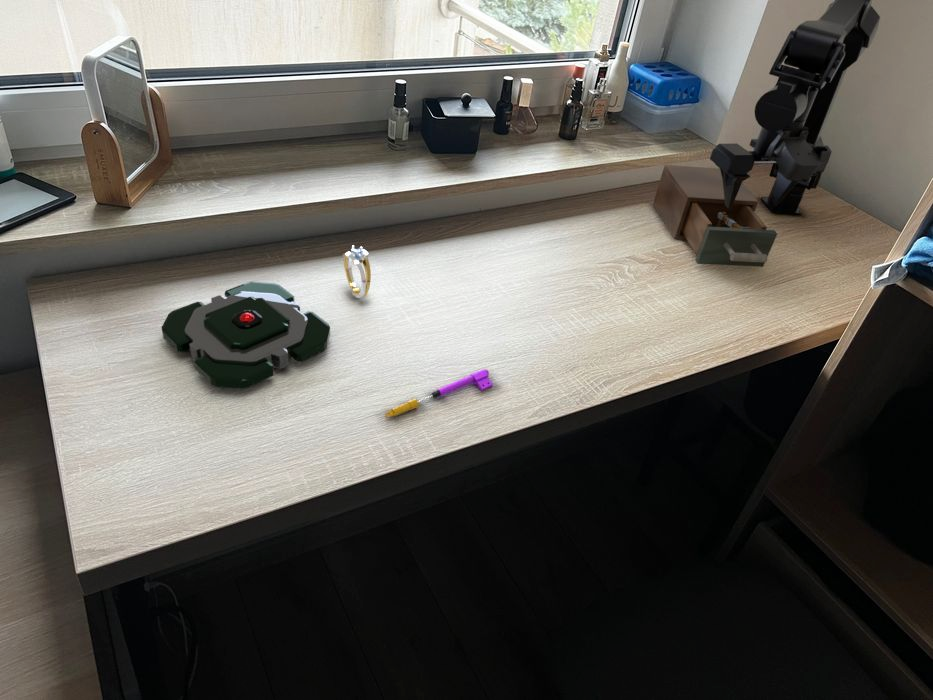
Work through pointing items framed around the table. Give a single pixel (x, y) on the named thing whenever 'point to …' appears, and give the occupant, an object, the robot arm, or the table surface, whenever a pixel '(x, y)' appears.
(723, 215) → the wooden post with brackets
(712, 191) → the cabinet
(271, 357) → the clover-shaped pad
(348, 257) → the ring
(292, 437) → the table surface
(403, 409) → the purple and gold rod
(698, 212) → the drawer
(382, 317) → the table surface
